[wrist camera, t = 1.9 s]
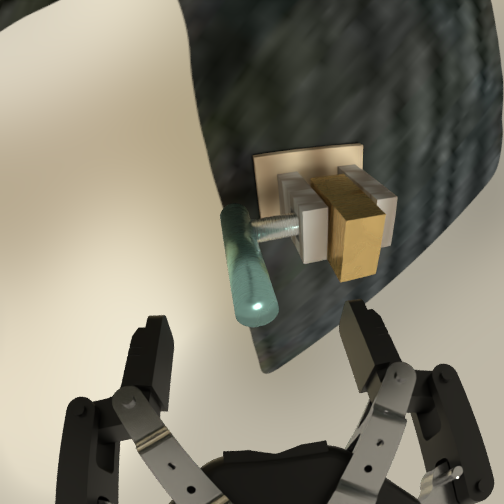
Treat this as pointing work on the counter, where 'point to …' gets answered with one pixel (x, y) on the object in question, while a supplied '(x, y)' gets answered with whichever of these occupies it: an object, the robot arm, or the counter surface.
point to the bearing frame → (305, 198)
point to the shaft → (252, 261)
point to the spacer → (350, 227)
